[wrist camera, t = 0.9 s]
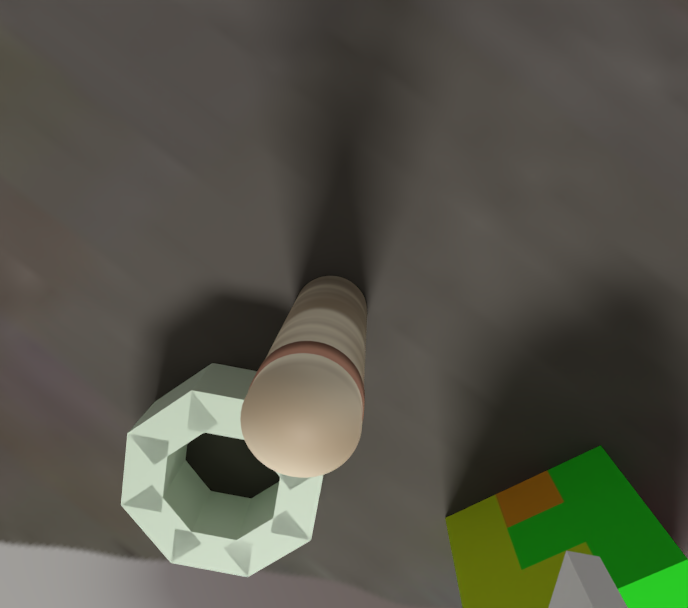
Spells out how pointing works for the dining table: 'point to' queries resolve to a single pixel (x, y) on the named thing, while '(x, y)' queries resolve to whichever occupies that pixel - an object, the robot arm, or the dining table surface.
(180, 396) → the bead
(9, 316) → the dining table surface
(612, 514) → the puzzle toy
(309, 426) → the striped rounded cylinder
